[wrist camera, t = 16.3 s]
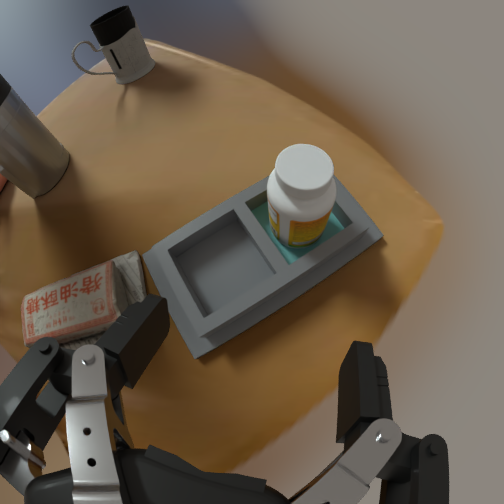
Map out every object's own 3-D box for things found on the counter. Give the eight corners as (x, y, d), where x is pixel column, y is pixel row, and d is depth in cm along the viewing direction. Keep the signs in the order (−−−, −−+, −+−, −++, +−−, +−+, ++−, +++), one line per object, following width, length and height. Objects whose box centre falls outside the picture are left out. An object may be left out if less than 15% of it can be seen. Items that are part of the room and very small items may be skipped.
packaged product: (22, 363, 21) (15, 284, 24) (48, 364, 25) (39, 292, 28) (137, 340, 21) (120, 236, 24) (159, 341, 25) (141, 252, 29)
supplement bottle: (333, 216, 26) (356, 157, 17) (307, 260, 25) (323, 214, 16) (287, 191, 28) (289, 126, 18) (259, 232, 26) (249, 175, 17)
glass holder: (163, 60, 41) (141, 1, 27) (112, 105, 38) (75, 44, 23) (137, 58, 43) (114, 7, 29) (89, 100, 40) (56, 48, 26)
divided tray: (197, 358, 24) (186, 360, 21) (145, 257, 28) (131, 247, 25) (381, 238, 26) (392, 226, 23) (313, 157, 30) (316, 140, 27)
